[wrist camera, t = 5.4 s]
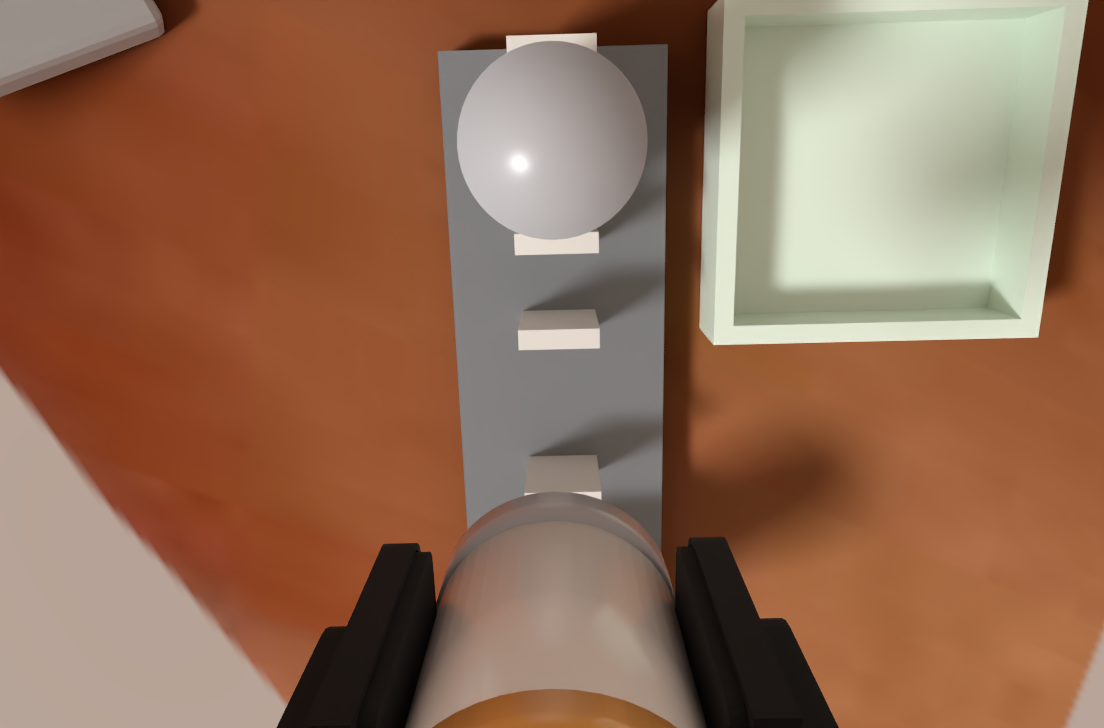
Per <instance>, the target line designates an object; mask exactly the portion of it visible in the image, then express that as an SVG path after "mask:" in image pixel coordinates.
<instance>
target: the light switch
mask: <svg viewBox="0 0 1104 728" xmlns="http://www.w3.org/2000/svg"><path fill="white" fill-rule="evenodd" d="M164 32H165V31H164V25H163V19H162V14H161V12H160V10H159V9H158V7H157V5H156V4H155V2H154V1H153V0H0V97H2V96H4V95H7V94H10V93H12V92H15V91H18V90H20V89H23V88H26V87H28V86H31V85H33V84H36V83H39V82H41V81H44V80H47V79H49V78H52V77H55V76H57V75H60V74H62V73H65V72H68V71H70V70H73V69H76V68H78V67H81V66H84V65H86V64H89V63H92V62H94V61H97V60H99V59H102V58H105V57H107V56H110V55H113V54H115V53H118V52H121V51H123V50H126V49H129V48H131V47H134V46H136V45H139V44H142V43H144V42H147V41H150V40H152V39H155V38H158V37H160V36H161V35H162V34H163V33H164Z"/></svg>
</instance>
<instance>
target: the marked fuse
mask: <svg viewBox="0 0 1104 728" xmlns="http://www.w3.org/2000/svg"><path fill="white" fill-rule="evenodd" d="M436 609H437V614H436V618H435V621H434V625H433V629H432V632H431V636H430V639H429V643H428V646H427V650H426V653H425V657H424V660H423V664H422V668H421V671H420V675H419V678H418V682H417V685H416V689H415V692H414V696H413V699H412V703H411V706H410V710H409V714H408V717H407V721H406V724H405V728H707V725H706V721H705V717H704V713H703V710H702V706H701V702H700V699H699V695H698V691H697V688H696V684H695V680H694V677H693V673H692V669H691V666H690V662H689V658H688V655H687V651H686V647H685V644H684V640H683V636H682V633H681V629H680V625H679V622H678V618H677V614H676V611H675V595H674V592H673V588H672V585H671V581H670V577H669V574H668V570H667V567H666V564H665V562H664V559H663V556H662V554H661V552H660V550H659V549H658V547H657V545H656V543H655V542H654V540H653V539H652V538H651V536H650V535H649V534H648V532H647V531H646V530H645V529H644V528H643V527H642V526H641V525H640V524H639V523H638V522H637V521H636V520H635V519H633V518H632V517H631V516H630V515H628V514H627V513H626V512H624V511H622V510H621V509H619V508H617V507H616V506H614V505H612V504H610V503H607V502H605V501H603V500H600V499H598V498H594V497H591V496H587V495H584V494H578V493H572V492H554V491H553V492H541V493H535V494H530V495H525V496H521V497H518V498H516V499H513V500H510V501H507V502H505V503H503V504H501V505H499V506H497V507H495V508H494V509H492V510H491V511H489V512H488V513H486V514H485V515H483V516H482V517H481V518H480V519H478V520H477V521H476V522H475V523H474V524H473V525H472V526H471V527H470V528H469V529H468V530H467V531H466V533H465V534H464V535H463V536H462V538H461V539H460V541H459V542H458V544H457V545H456V547H455V549H454V551H453V553H452V555H451V557H450V559H449V562H448V565H447V569H446V572H445V575H444V579H443V582H442V586H441V589H440V593H439V596H438V600H437V603H436Z"/></svg>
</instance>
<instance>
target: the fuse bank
mask: <svg viewBox="0 0 1104 728" xmlns="http://www.w3.org/2000/svg"><path fill="white" fill-rule="evenodd" d="M506 46H507V49H493V50H461V51H438V65H439V81H440V97H441V113H442V128H443V144H444V160H445V176H446V192H447V208H448V224H449V240H450V256H451V272H452V288H453V304H454V319H455V335H456V351H457V367H458V383H459V399H460V415H461V431H462V447H463V463H464V479H465V495H466V510H467V526H468V529H469V528H470V527H471V526H472V525H473V524H474V523H475V522H476V521H477V520H478V519H480V518H481V517H482V516H483V515H485V514H486V513H488V512H489V511H491V510H492V509H494V508H495V507H497V506H499V505H501V504H503V503H505V502H507V501H510V500H513V499H516V498H518V497H521V496H525V495H530V494H535V493H541V492H553V491H554V492H572V493H578V494H584V495H587V496H591V497H594V498H598V499H600V500H603V501H605V502H607V503H610V504H612V505H614V506H616V507H617V508H619V509H621V510H622V511H624V512H626V513H627V514H628V515H630V516H631V517H632V518H633V519H635V520H636V521H637V522H638V523H639V524H640V525H641V526H642V527H643V528H644V529H645V530H646V531H647V532H648V534H649V535H650V536H651V538H652V539H653V540H654V542H655V543H656V545H657V547H658V549H659V550H660V552H661V526H662V451H663V375H664V299H665V224H666V148H667V72H668V44H656V45H623V46H597V33H583V34H551V35H519V36H506Z"/></svg>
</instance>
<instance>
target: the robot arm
mask: <svg viewBox="0 0 1104 728" xmlns="http://www.w3.org/2000/svg"><path fill="white" fill-rule="evenodd" d="M675 611H676V614H677V618H678V622H679V625H680V629H681V633H682V636H683V640H684V644H685V647H686V651H687V655H688V658H689V662H690V666H691V669H692V673H693V677H694V680H695V684H696V688H697V691H698V695H699V699H700V702H701V706H702V710H703V713H704V717H705V721H706V725H707V728H839V727H838V725H837V723H836V721H835V719H834V717H833V715H832V713H831V711H830V709H829V707H828V705H827V703H826V701H825V698H824V696H823V694H822V692H821V690H820V688H819V686H818V684H817V682H816V680H815V678H814V676H813V674H812V672H811V670H810V667H809V665H808V663H807V661H806V659H805V657H804V655H803V653H802V651H801V649H800V647H799V645H798V643H797V641H796V639H795V637H794V634H793V632H792V630H791V628H790V626H789V625H788V623H787V622H786V620H784V619H782V618H765V619H760V618H759V615H758V613H757V611H756V608H755V606H754V604H753V601H752V599H751V597H750V594H749V592H748V590H747V587H746V585H745V583H744V580H743V578H742V576H741V573H740V571H739V569H738V566H737V564H736V562H735V559H734V557H733V555H732V552H731V550H730V548H729V545H728V543H727V541H726V539H725V537H695V538H690V539H689V543H688V547H678V548H677V553H676V591H675ZM436 614H437V609H436V597H435V585H434V572H433V561H432V555H431V552H421V551H420V547H419V544H418V543H404V544H383V546H382V548H381V550H380V552H379V554H378V557H377V559H376V561H375V563H374V566H373V568H372V570H371V572H370V575H369V577H368V579H367V582H366V584H365V586H364V588H363V591H362V593H361V595H360V597H359V600H358V602H357V604H356V607H355V609H354V611H353V613H352V616H351V618H350V620H349V622H348V625H347V626H342V627H328V628H326V629H325V631H324V632H323V634H322V635H321V637H320V639H319V641H318V643H317V645H316V647H315V649H314V652H313V654H312V656H311V658H310V660H309V662H308V664H307V666H306V668H305V670H304V672H303V674H302V676H301V678H300V680H299V683H298V685H297V687H296V689H295V691H294V693H293V695H292V697H291V699H290V701H289V703H288V705H287V707H286V709H285V711H284V714H283V716H282V718H281V720H280V722H279V724H278V726H277V728H405V724H406V721H407V717H408V714H409V710H410V706H411V703H412V699H413V696H414V692H415V689H416V685H417V682H418V678H419V675H420V671H421V668H422V664H423V660H424V657H425V653H426V650H427V646H428V643H429V639H430V636H431V632H432V629H433V625H434V621H435V618H436Z"/></svg>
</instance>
